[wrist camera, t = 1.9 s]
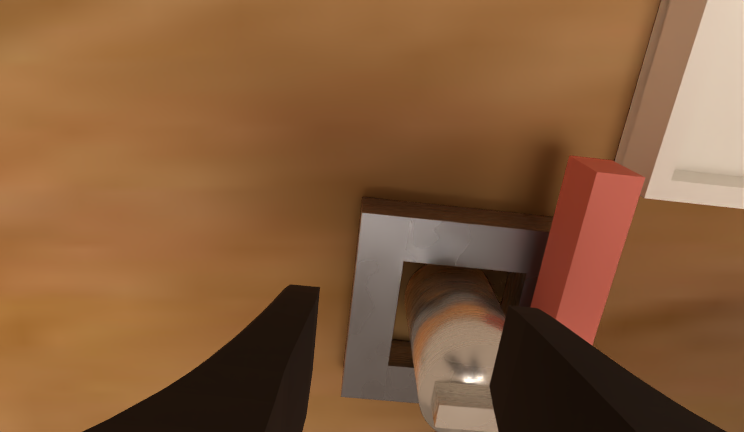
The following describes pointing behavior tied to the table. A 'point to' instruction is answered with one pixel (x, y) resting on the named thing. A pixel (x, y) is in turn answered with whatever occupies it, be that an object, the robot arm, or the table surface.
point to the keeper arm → (586, 242)
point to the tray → (690, 106)
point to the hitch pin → (454, 345)
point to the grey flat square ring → (432, 246)
